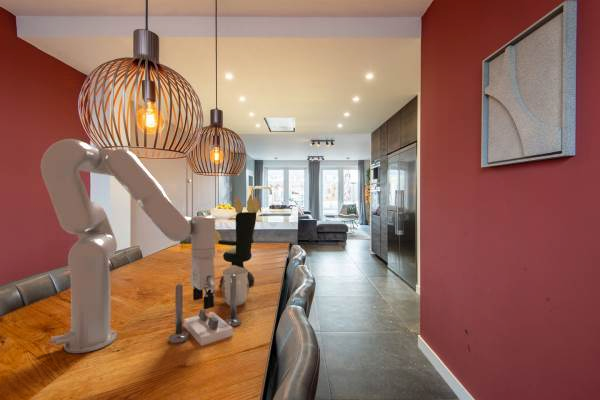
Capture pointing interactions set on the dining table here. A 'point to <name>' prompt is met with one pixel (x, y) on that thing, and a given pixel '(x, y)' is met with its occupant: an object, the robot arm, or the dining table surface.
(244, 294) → the pitcher
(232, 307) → the rod right
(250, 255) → the flowering cactus
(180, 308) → the rod left
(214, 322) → the square dumbbell
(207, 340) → the panel
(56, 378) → the dining table surface
